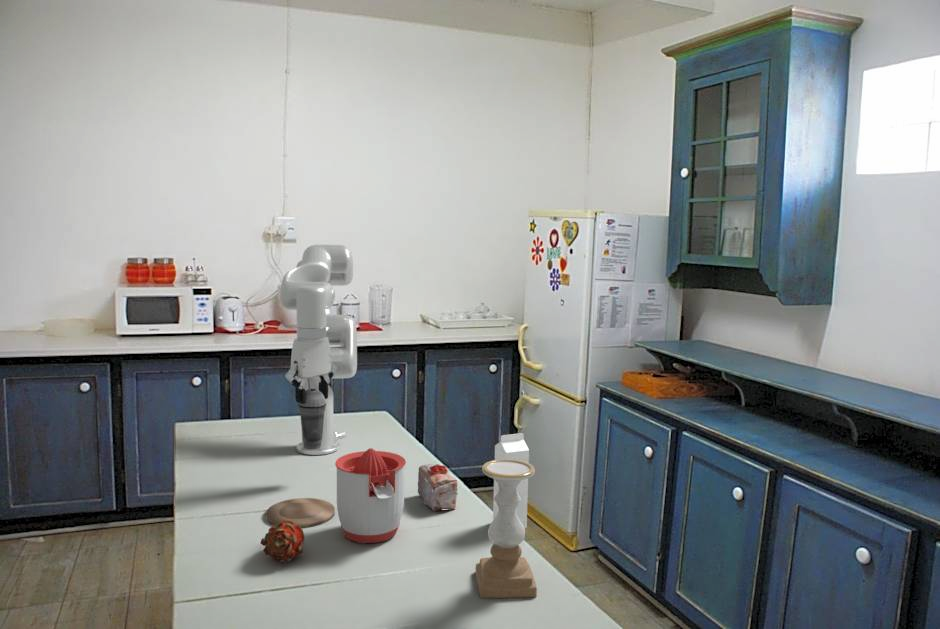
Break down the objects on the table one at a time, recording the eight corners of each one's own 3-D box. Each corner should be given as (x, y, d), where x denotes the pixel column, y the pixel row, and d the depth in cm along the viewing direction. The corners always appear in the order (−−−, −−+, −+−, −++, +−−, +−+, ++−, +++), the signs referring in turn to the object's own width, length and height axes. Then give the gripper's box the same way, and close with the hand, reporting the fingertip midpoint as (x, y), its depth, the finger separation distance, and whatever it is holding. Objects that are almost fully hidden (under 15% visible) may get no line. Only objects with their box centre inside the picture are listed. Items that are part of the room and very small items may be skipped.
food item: (461, 511, 184) (462, 472, 182) (430, 515, 180) (431, 476, 179) (441, 492, 196) (442, 455, 195) (412, 496, 193) (412, 459, 192)
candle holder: (474, 571, 152) (477, 458, 149) (528, 570, 153) (531, 457, 150) (480, 598, 141) (483, 476, 138) (537, 597, 142) (541, 476, 139)
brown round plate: (307, 497, 190) (307, 492, 190) (348, 514, 180) (348, 510, 180) (252, 514, 178) (252, 510, 178) (292, 534, 168) (292, 529, 168)
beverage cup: (319, 452, 194) (319, 377, 191) (293, 449, 195) (292, 375, 192) (330, 443, 201) (330, 370, 198) (305, 441, 202) (304, 369, 199)
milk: (526, 528, 174) (530, 436, 171) (503, 532, 172) (506, 439, 169) (514, 518, 180) (518, 429, 177) (491, 522, 177) (495, 431, 174)
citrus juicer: (350, 557, 157) (350, 465, 155) (326, 526, 172) (326, 442, 170) (419, 544, 164) (420, 456, 162) (390, 515, 180) (390, 434, 177)
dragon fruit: (284, 579, 150) (277, 562, 162) (317, 550, 153) (309, 535, 164) (257, 548, 149) (252, 533, 160) (291, 519, 151) (285, 506, 162)
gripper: (329, 327, 203) (329, 391, 205) (274, 335, 190) (275, 403, 192) (347, 331, 198) (347, 397, 200) (292, 339, 185) (293, 409, 187)
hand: (312, 399), depth 196 cm, fingers closed on beverage cup, 6 cm apart
